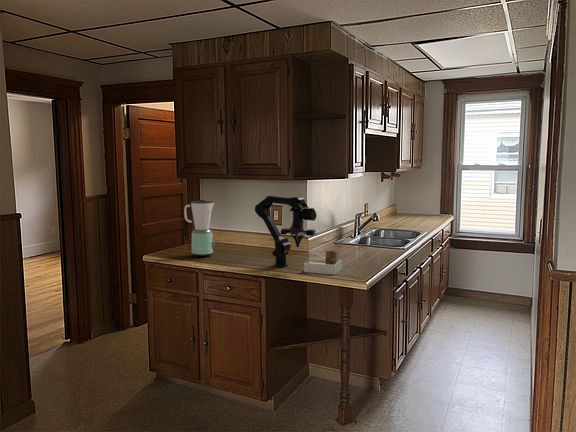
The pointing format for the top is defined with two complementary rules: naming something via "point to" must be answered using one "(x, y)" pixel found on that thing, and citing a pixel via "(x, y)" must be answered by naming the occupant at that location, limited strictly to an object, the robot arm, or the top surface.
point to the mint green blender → (201, 227)
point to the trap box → (322, 266)
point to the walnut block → (332, 256)
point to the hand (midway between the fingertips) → (298, 247)
